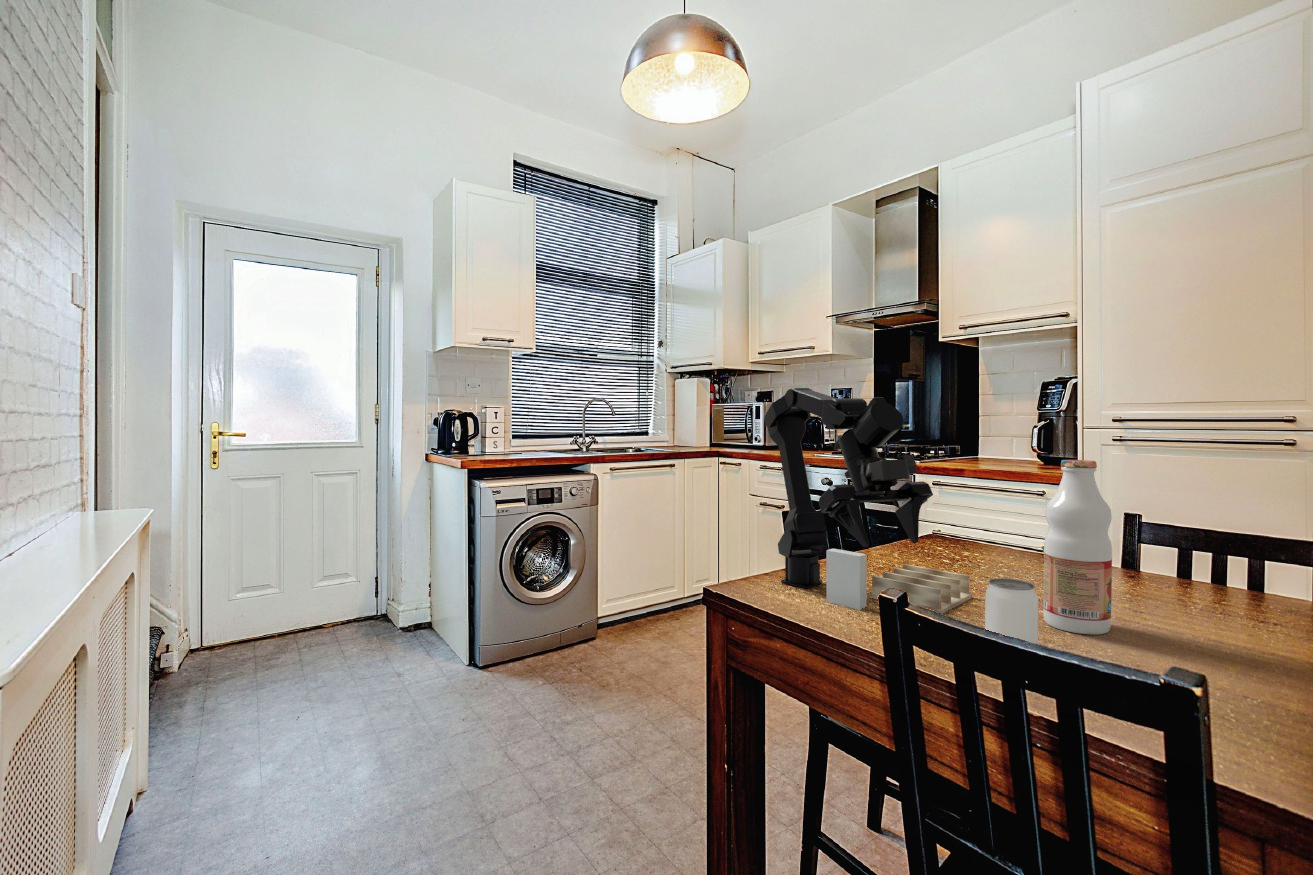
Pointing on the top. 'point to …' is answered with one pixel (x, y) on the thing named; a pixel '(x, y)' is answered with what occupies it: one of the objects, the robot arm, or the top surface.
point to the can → (1012, 609)
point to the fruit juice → (1078, 554)
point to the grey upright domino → (846, 578)
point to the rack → (925, 587)
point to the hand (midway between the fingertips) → (891, 544)
